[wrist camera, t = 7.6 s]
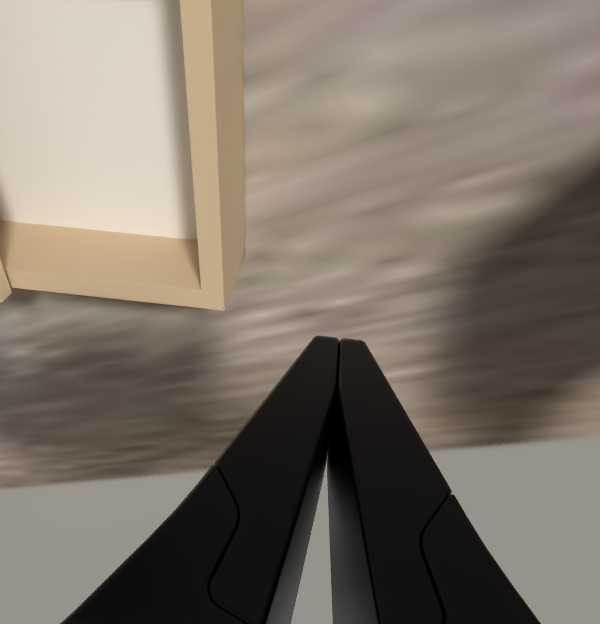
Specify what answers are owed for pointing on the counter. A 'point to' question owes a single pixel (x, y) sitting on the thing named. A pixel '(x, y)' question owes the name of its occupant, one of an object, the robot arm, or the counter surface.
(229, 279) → the box
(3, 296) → the lid
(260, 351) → the counter surface
